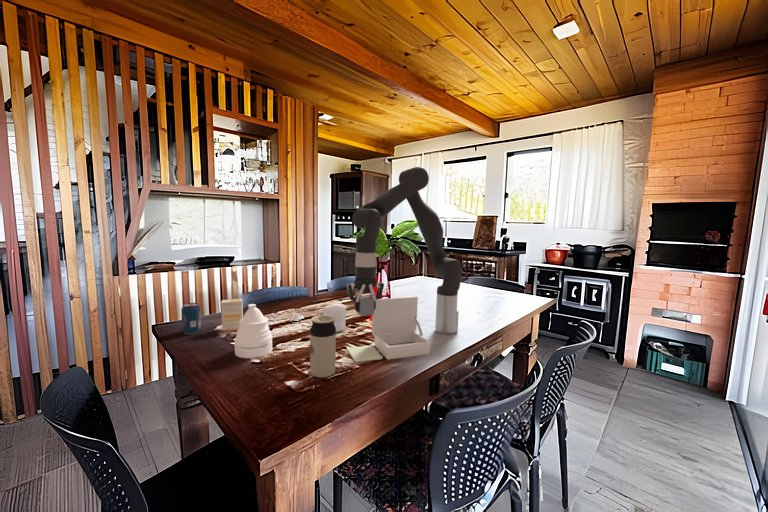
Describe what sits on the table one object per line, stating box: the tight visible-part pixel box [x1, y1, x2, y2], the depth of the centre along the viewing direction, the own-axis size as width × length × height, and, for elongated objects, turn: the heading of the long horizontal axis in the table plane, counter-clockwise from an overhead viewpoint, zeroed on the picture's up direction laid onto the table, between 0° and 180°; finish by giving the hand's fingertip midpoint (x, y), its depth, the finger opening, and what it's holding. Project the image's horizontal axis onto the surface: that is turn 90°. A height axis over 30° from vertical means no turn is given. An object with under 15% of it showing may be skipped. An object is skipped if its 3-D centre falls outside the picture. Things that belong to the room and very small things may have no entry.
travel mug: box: [309, 314, 337, 378], centre depth 105 cm, size 8×8×18 cm
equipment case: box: [371, 296, 431, 360], centre depth 126 cm, size 19×14×18 cm
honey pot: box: [234, 303, 273, 359], centre depth 121 cm, size 13×13×18 cm
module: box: [356, 295, 374, 317], centre depth 120 cm, size 5×5×6 cm
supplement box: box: [220, 298, 244, 332], centre depth 144 cm, size 8×5×13 cm, turn 108°
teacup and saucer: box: [291, 312, 305, 322], centre depth 159 cm, size 9×8×4 cm
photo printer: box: [322, 303, 347, 333], centre depth 145 cm, size 10×4×12 cm, turn 123°
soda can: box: [181, 302, 202, 335], centre depth 140 cm, size 7×7×12 cm
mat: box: [346, 345, 383, 363], centre depth 122 cm, size 10×12×1 cm
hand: (364, 311), depth 120 cm, fingers closed on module, 5 cm apart
